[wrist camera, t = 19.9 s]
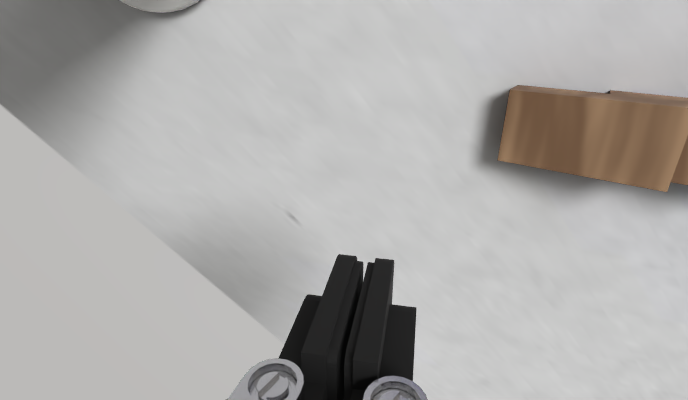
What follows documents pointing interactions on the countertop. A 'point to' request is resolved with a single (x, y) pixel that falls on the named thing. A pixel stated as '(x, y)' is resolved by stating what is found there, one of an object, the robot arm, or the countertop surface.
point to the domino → (595, 134)
